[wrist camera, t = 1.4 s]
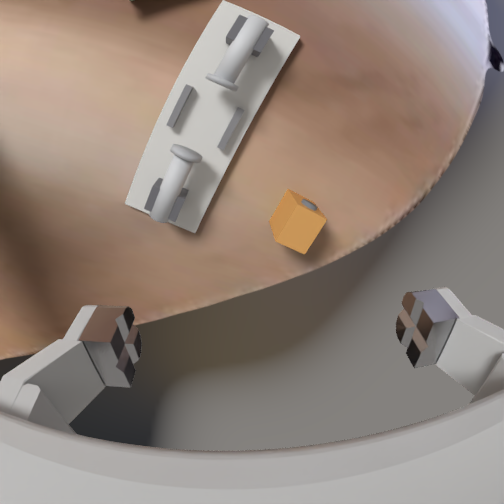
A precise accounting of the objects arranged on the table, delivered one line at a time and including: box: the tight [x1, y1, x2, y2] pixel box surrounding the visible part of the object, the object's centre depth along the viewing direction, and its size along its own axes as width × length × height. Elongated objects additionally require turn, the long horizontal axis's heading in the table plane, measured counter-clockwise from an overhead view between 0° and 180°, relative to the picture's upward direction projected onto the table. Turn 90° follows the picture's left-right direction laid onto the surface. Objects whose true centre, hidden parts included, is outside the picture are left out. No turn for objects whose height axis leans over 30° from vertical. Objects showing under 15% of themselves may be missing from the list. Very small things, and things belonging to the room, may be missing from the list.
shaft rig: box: [125, 0, 300, 233], centre depth 31 cm, size 28×10×6 cm, turn 153°
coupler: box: [269, 189, 327, 254], centre depth 37 cm, size 6×4×6 cm
